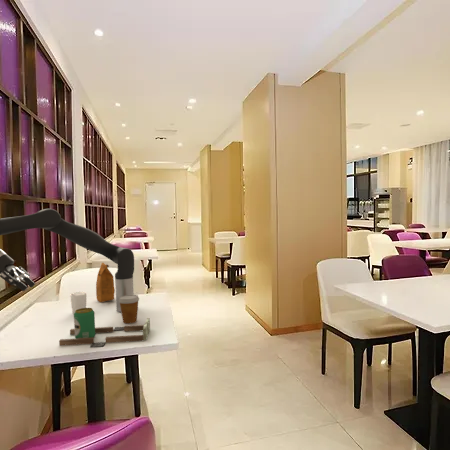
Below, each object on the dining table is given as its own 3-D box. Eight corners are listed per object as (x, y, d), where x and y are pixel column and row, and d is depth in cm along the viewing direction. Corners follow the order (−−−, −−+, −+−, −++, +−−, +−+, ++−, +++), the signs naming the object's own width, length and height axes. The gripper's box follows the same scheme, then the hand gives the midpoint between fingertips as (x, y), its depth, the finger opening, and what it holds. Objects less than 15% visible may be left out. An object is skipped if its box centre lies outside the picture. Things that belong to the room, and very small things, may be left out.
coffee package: (111, 296, 222) (110, 261, 221) (116, 300, 212) (114, 263, 210) (95, 298, 218) (93, 263, 217) (98, 303, 207) (96, 265, 206)
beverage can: (72, 338, 151) (70, 310, 150) (90, 333, 157) (89, 306, 156) (79, 343, 145) (78, 314, 145) (98, 337, 151) (97, 309, 150)
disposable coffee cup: (143, 319, 175) (142, 294, 174) (133, 325, 166) (132, 299, 165) (126, 318, 178) (125, 294, 177) (115, 324, 168) (114, 298, 168)
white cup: (87, 313, 188) (86, 294, 187) (71, 315, 185) (70, 296, 184) (87, 309, 195) (86, 291, 195) (71, 311, 192) (70, 292, 192)
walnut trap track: (74, 330, 161) (73, 319, 161) (151, 326, 164) (150, 315, 164) (55, 349, 139) (55, 336, 139) (144, 344, 142) (143, 331, 142)
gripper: (-6, 255, 139) (28, 284, 141) (13, 251, 154) (43, 277, 155) (-19, 269, 139) (14, 298, 141) (1, 264, 154) (31, 290, 155)
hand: (29, 287), depth 148 cm, fingers open, 6 cm apart
